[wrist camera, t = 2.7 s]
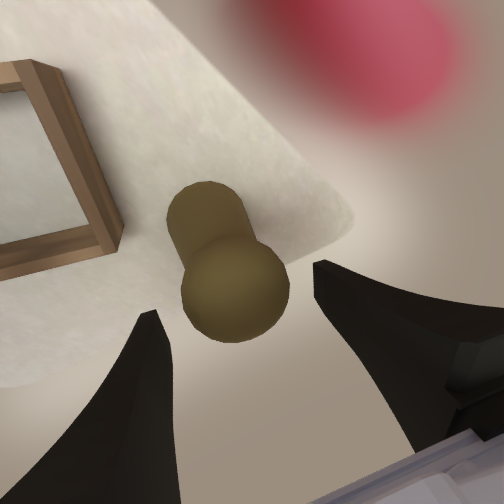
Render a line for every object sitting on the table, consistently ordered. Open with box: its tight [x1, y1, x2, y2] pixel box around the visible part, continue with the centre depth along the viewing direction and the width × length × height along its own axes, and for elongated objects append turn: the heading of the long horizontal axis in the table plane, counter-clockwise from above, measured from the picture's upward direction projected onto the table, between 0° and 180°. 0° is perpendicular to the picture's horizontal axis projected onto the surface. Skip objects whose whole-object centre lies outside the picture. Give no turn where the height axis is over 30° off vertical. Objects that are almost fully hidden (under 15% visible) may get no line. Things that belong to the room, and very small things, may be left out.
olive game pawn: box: [166, 181, 290, 343], centre depth 17 cm, size 6×6×11 cm
